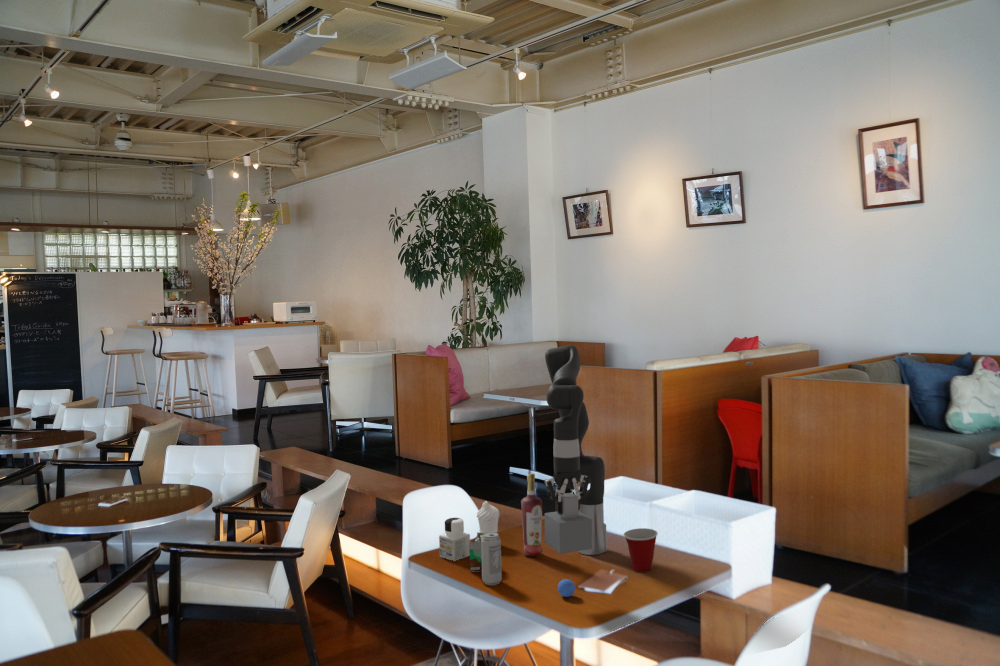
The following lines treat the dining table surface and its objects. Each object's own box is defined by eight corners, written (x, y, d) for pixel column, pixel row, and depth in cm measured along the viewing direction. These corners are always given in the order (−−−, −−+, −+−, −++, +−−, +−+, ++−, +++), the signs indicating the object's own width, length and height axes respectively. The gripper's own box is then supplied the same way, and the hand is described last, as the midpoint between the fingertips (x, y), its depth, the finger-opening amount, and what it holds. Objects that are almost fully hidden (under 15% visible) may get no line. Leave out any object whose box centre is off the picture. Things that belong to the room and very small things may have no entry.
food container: (488, 574, 234) (487, 543, 234) (469, 573, 235) (468, 543, 235) (496, 562, 246) (495, 532, 246) (478, 561, 247) (477, 531, 247)
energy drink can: (495, 577, 231) (493, 530, 231) (505, 583, 226) (504, 535, 226) (478, 581, 228) (477, 534, 228) (488, 587, 223) (487, 538, 222)
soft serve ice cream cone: (498, 540, 270) (497, 497, 269) (502, 547, 261) (501, 503, 261) (475, 542, 268) (474, 499, 268) (479, 549, 260) (478, 504, 260)
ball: (579, 590, 212) (574, 598, 215) (573, 574, 215) (568, 583, 218) (564, 593, 210) (559, 601, 213) (558, 577, 213) (553, 585, 216)
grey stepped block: (575, 538, 219) (575, 489, 218) (591, 549, 209) (591, 498, 208) (544, 542, 215) (544, 493, 214) (559, 553, 206) (559, 502, 205)
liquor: (529, 559, 247) (527, 477, 247) (518, 554, 254) (516, 473, 253) (547, 555, 251) (545, 474, 251) (535, 550, 258) (533, 471, 257)
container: (439, 557, 253) (438, 519, 253) (455, 551, 258) (454, 514, 258) (454, 561, 248) (453, 523, 247) (470, 555, 253) (469, 518, 253)
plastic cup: (619, 565, 240) (618, 529, 239) (650, 562, 242) (649, 526, 242) (631, 576, 229) (631, 538, 229) (664, 573, 231) (663, 535, 231)
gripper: (582, 449, 217) (583, 507, 218) (538, 454, 212) (540, 512, 213) (594, 454, 210) (595, 513, 211) (549, 458, 205) (550, 519, 206)
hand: (567, 512), depth 212 cm, fingers closed on grey stepped block, 4 cm apart
